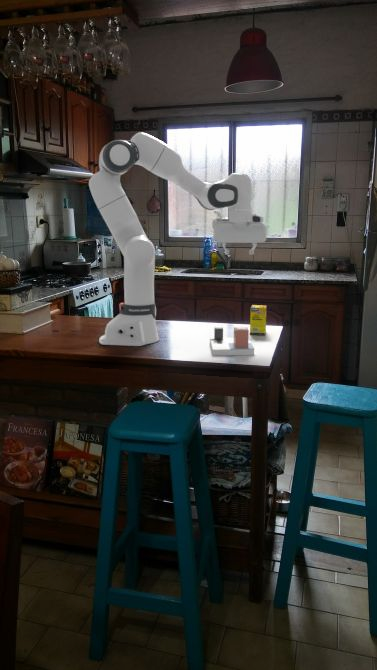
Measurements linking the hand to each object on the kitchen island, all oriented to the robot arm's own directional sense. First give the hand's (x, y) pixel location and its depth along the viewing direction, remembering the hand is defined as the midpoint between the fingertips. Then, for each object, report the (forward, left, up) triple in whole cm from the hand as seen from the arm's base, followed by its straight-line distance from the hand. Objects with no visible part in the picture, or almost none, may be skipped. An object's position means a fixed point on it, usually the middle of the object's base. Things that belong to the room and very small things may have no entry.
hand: (239, 254), depth 207 cm
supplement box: (+8, 0, -31) cm, 32 cm away
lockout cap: (-2, -28, -29) cm, 41 cm away
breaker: (-9, -18, -29) cm, 35 cm away
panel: (-5, -24, -31) cm, 40 cm away
